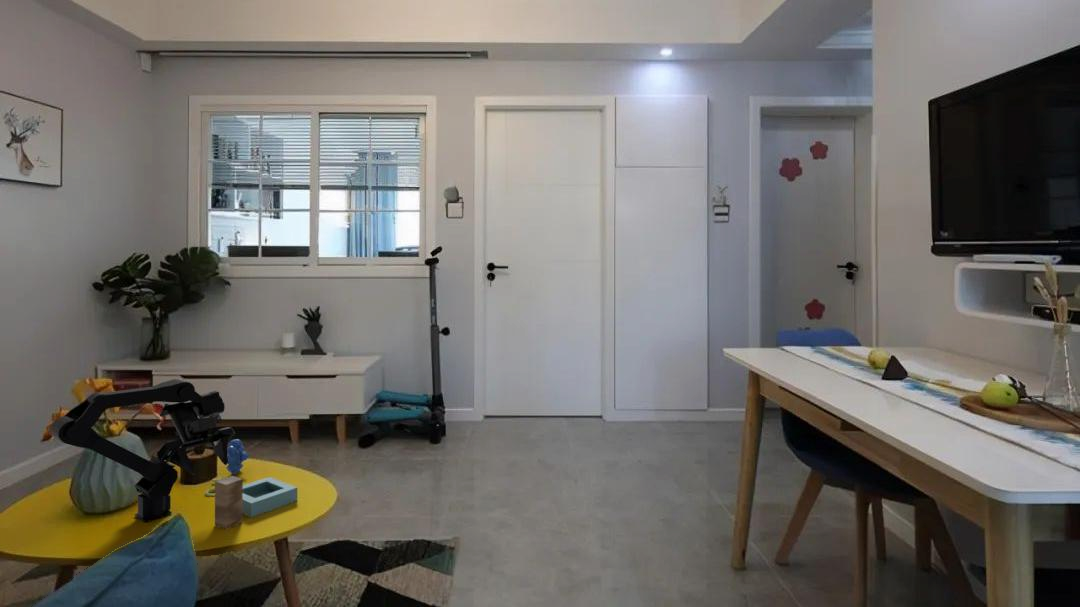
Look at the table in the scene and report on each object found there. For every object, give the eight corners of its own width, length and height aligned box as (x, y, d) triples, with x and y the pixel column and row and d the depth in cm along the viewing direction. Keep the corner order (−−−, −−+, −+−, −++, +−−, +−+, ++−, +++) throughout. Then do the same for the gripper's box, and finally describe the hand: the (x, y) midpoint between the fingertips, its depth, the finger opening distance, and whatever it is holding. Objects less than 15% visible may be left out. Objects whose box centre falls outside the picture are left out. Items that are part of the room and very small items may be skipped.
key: (221, 482, 176) (221, 475, 176) (235, 493, 168) (235, 486, 168) (195, 488, 171) (195, 481, 171) (208, 500, 163) (208, 493, 162)
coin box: (251, 517, 151) (251, 503, 151) (223, 504, 159) (223, 491, 158) (297, 500, 163) (297, 487, 163) (269, 489, 171) (269, 476, 170)
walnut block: (226, 529, 144) (226, 484, 143) (214, 525, 146) (214, 481, 145) (242, 522, 148) (242, 479, 148) (231, 518, 150) (231, 475, 150)
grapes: (243, 480, 177) (243, 443, 177) (220, 481, 176) (220, 444, 175) (254, 467, 189) (254, 433, 188) (233, 468, 187) (233, 433, 187)
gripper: (164, 411, 143) (189, 461, 139) (231, 399, 160) (256, 443, 156) (146, 436, 147) (170, 485, 143) (213, 421, 164) (236, 465, 160)
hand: (210, 468), depth 150 cm, fingers open, 9 cm apart
